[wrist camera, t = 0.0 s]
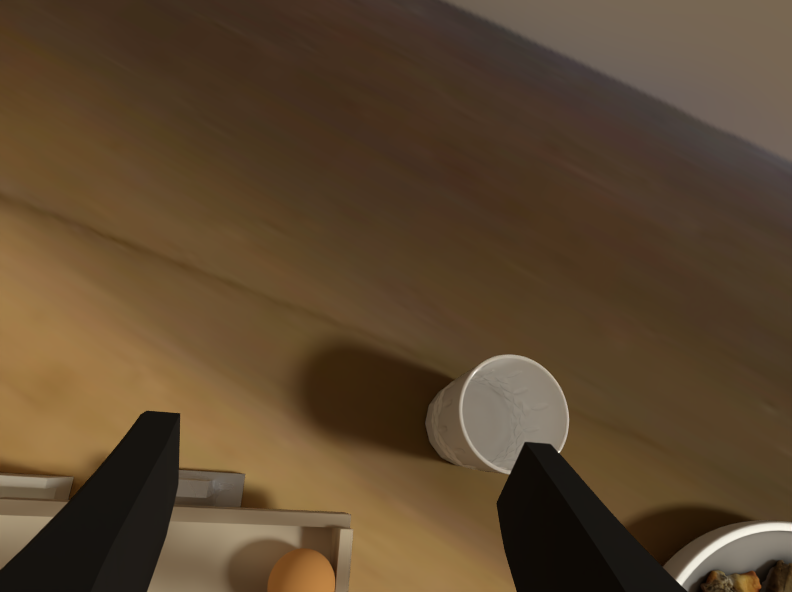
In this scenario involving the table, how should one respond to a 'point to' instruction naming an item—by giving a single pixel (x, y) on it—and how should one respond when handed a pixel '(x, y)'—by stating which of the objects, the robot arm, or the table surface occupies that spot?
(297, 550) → the ball
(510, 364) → the white cup
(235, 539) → the lever
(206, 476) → the lever stand
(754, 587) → the bowl
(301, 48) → the table surface
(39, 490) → the cream open box
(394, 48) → the table surface
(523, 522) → the robot arm
